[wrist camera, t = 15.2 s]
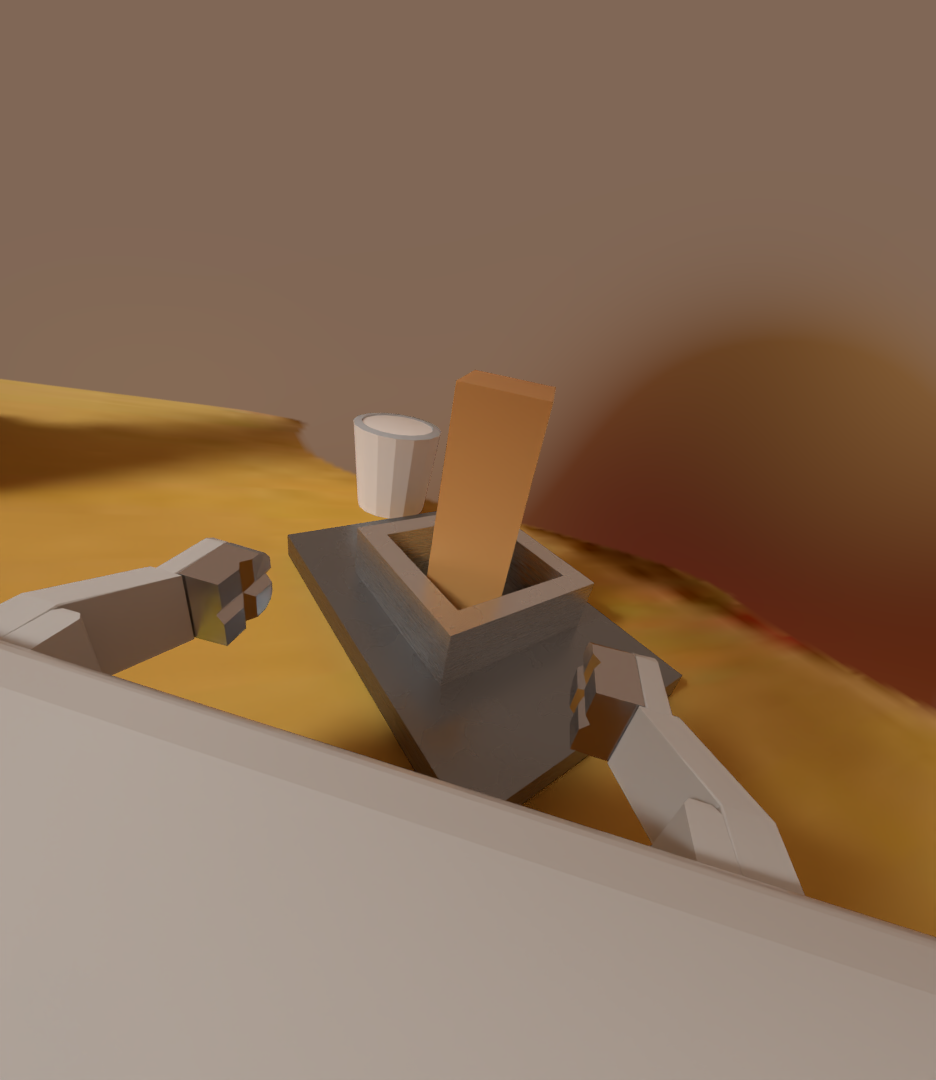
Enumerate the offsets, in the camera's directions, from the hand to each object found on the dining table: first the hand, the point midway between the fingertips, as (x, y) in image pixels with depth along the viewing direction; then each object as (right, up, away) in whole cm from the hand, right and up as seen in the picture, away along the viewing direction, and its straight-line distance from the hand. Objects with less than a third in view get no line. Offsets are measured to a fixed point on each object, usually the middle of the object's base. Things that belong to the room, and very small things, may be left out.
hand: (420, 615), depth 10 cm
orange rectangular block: (+1, -2, +14) cm, 14 cm away
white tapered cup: (-6, +5, +27) cm, 27 cm away
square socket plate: (+1, -3, +15) cm, 15 cm away
